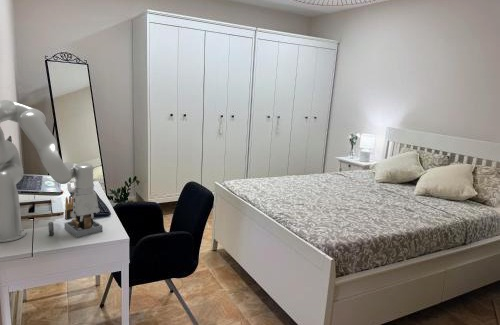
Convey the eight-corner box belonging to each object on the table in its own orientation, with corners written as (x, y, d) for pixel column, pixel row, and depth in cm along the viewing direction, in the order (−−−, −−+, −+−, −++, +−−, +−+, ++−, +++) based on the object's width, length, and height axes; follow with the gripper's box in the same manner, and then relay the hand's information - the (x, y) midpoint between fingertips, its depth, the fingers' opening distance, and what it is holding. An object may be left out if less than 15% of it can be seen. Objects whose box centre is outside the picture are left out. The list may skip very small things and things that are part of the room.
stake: (50, 236, 160) (49, 224, 158) (48, 234, 161) (47, 222, 160) (54, 235, 161) (53, 223, 160) (53, 233, 162) (52, 221, 161)
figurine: (88, 205, 199) (87, 180, 195) (70, 209, 192) (69, 183, 189) (84, 202, 204) (83, 177, 200) (66, 205, 197) (65, 179, 194)
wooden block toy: (81, 231, 162) (80, 219, 161) (71, 224, 169) (71, 212, 167) (94, 227, 167) (94, 216, 165) (85, 221, 173) (84, 209, 172)
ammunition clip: (67, 220, 178) (65, 197, 176) (64, 219, 179) (63, 196, 176) (86, 214, 187) (85, 192, 184) (84, 213, 188) (83, 192, 185)
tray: (76, 238, 159) (76, 232, 159) (64, 228, 168) (64, 222, 168) (102, 231, 168) (102, 225, 168) (89, 222, 177) (89, 216, 177)
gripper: (69, 195, 153) (71, 234, 157) (105, 189, 165) (106, 225, 169) (62, 191, 158) (64, 229, 162) (98, 185, 170) (99, 220, 174)
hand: (86, 226), depth 166 cm, fingers closed on wooden block toy, 3 cm apart
